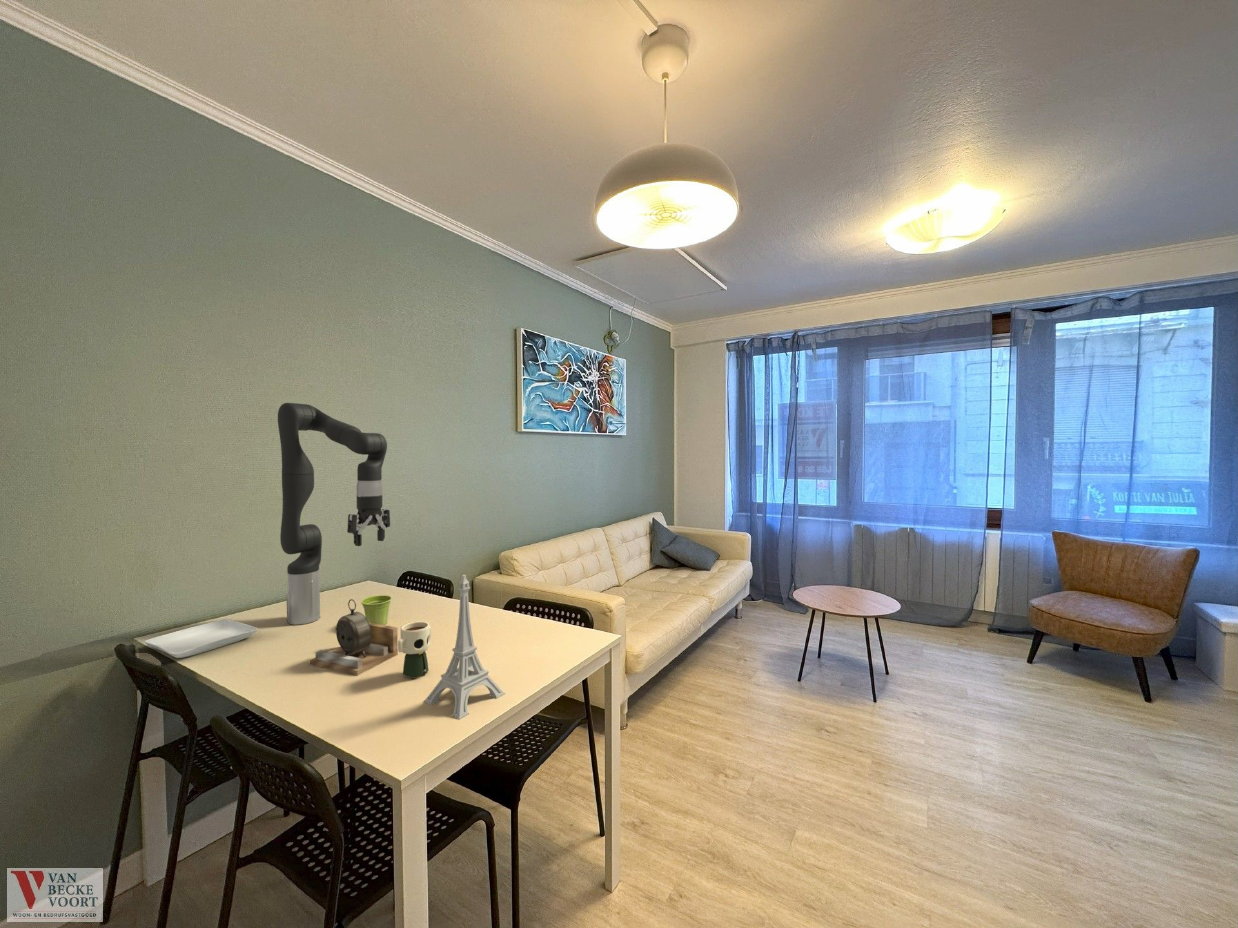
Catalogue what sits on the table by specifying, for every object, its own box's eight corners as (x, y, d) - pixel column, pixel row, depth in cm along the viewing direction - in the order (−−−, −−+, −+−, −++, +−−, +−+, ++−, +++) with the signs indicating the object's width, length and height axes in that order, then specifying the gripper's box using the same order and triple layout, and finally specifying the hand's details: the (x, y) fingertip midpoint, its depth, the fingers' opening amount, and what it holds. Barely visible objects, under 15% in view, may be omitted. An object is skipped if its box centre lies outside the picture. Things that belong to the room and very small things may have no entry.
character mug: (409, 686, 120) (409, 635, 119) (389, 680, 123) (388, 631, 122) (441, 667, 130) (440, 621, 130) (421, 663, 133) (420, 617, 132)
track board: (309, 664, 132) (309, 635, 132) (352, 645, 145) (351, 619, 144) (357, 675, 126) (356, 645, 125) (397, 654, 138) (397, 627, 138)
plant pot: (398, 620, 166) (397, 595, 166) (382, 630, 156) (381, 604, 156) (372, 619, 167) (372, 594, 166) (355, 629, 157) (354, 603, 157)
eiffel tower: (470, 679, 124) (469, 565, 123) (505, 694, 116) (504, 573, 115) (423, 701, 113) (422, 577, 112) (459, 720, 105) (458, 586, 104)
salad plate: (142, 650, 142) (141, 639, 141) (227, 626, 160) (227, 616, 160) (174, 665, 132) (173, 653, 132) (260, 638, 151) (260, 628, 150)
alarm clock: (373, 656, 134) (372, 599, 134) (354, 663, 130) (353, 605, 129) (351, 648, 140) (350, 593, 139) (332, 654, 135) (331, 598, 135)
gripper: (379, 491, 163) (379, 538, 164) (341, 495, 150) (341, 546, 150) (395, 492, 160) (395, 540, 161) (358, 496, 147) (358, 548, 148)
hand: (369, 543), depth 156 cm, fingers open, 8 cm apart
